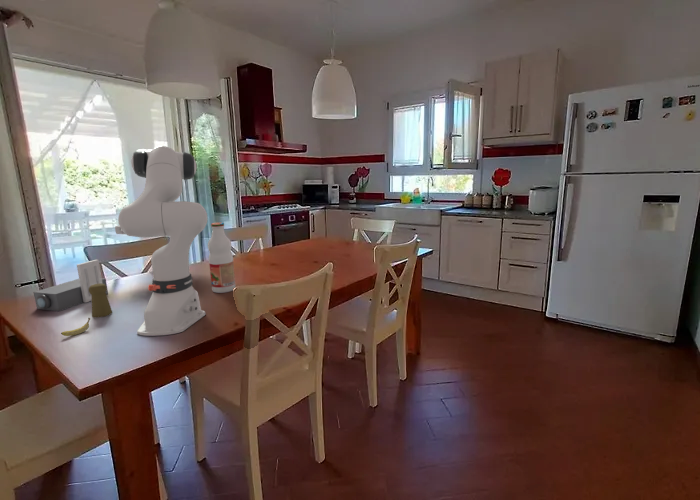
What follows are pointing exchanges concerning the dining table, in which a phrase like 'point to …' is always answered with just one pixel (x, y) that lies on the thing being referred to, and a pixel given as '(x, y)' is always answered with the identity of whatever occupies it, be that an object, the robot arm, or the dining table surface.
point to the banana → (77, 330)
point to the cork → (99, 301)
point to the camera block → (60, 296)
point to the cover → (89, 277)
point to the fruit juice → (221, 260)
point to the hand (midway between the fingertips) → (123, 232)
